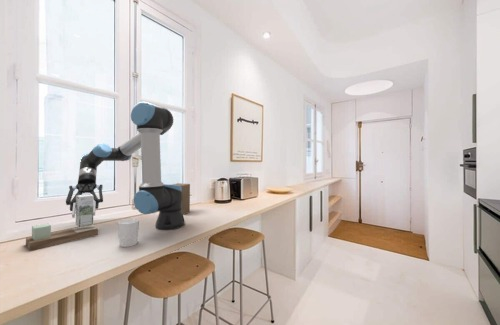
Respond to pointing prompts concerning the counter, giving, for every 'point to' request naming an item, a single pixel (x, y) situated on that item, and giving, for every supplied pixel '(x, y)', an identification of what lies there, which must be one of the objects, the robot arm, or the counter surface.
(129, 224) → the white cup
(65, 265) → the counter surface
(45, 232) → the sage cube
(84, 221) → the syrup box
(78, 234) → the walnut base board
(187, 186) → the wooden block
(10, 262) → the counter surface
